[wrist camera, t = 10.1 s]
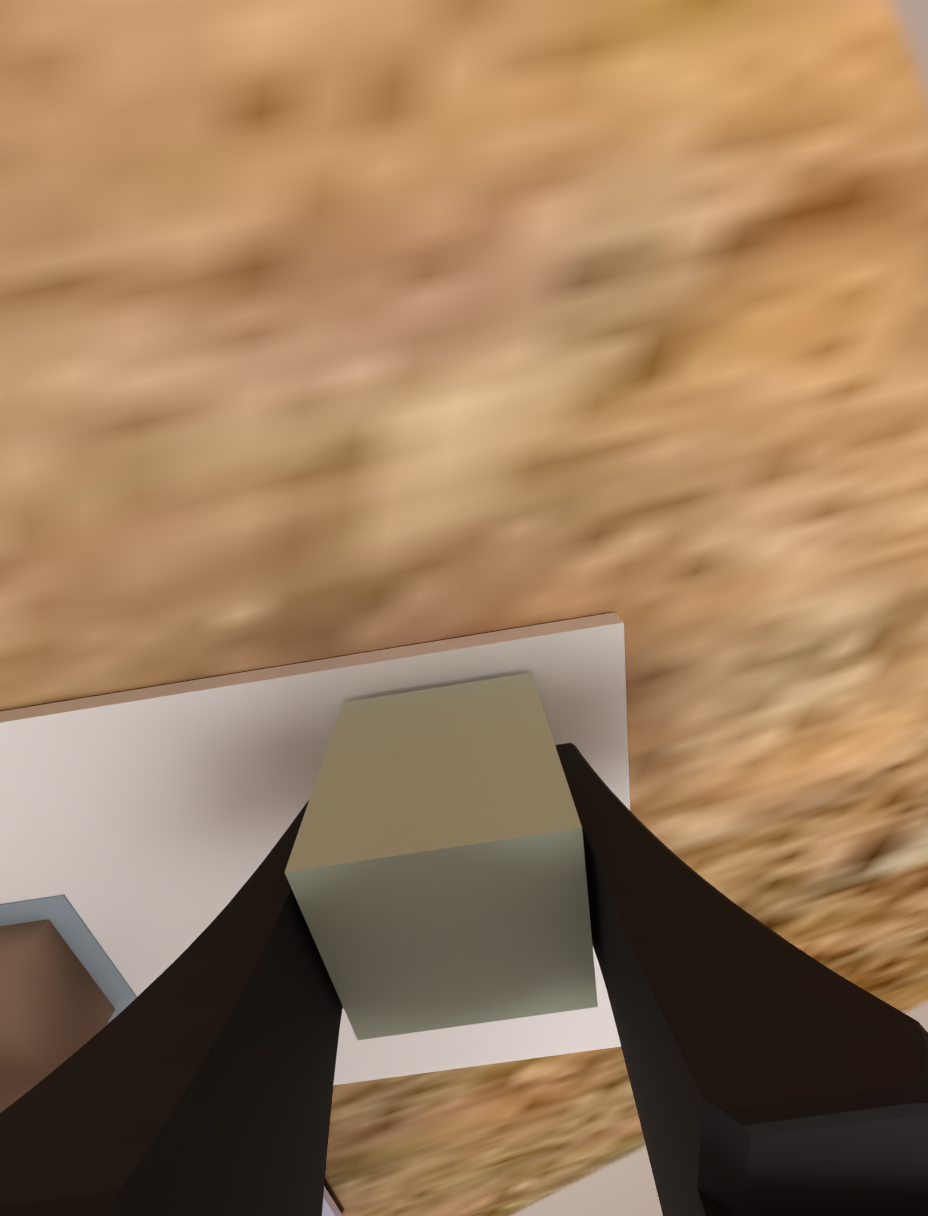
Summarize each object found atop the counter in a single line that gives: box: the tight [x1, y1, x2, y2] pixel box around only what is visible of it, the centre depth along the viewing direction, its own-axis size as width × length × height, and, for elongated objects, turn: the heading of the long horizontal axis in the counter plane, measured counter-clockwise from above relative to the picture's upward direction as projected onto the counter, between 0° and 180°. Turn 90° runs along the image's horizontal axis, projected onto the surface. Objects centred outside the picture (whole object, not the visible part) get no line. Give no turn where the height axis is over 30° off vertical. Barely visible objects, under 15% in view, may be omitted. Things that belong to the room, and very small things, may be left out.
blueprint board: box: [0, 612, 630, 1085], centre depth 15 cm, size 18×24×1 cm
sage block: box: [285, 673, 598, 1040], centre depth 10 cm, size 4×4×4 cm
